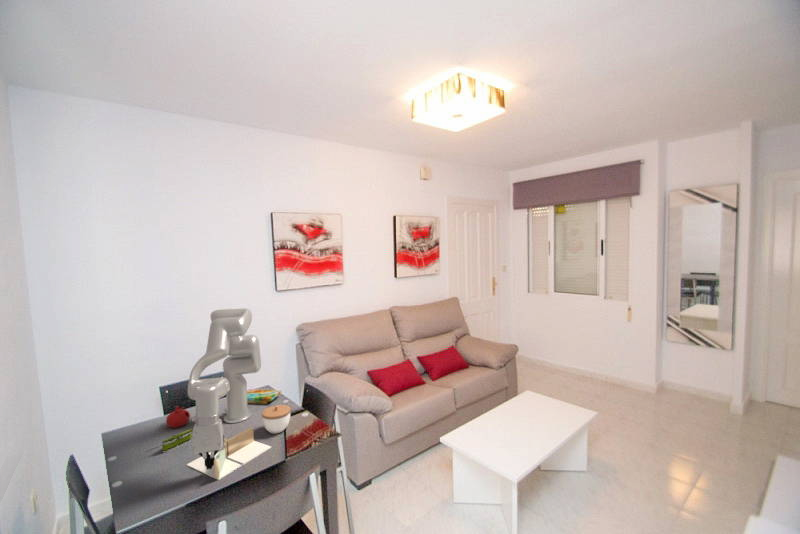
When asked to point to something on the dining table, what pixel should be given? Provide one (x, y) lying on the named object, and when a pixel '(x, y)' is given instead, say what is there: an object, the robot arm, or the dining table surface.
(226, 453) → the base
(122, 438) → the dining table surface
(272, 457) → the dining table surface
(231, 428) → the dining table surface
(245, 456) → the card
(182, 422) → the red teapot
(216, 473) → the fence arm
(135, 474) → the dining table surface
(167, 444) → the green slotted rack
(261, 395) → the puzzle game
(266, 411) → the lidded bowl
